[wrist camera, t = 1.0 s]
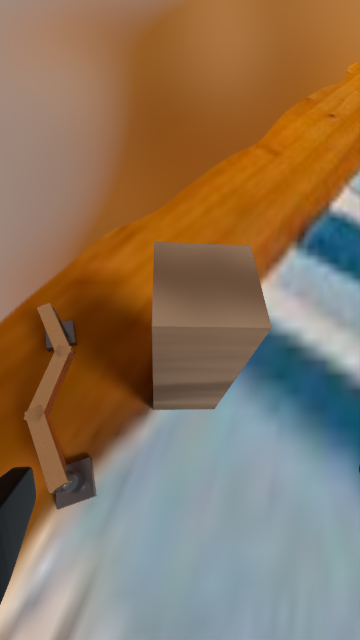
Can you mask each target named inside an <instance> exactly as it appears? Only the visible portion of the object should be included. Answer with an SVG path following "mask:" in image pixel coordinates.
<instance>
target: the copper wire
mask: <svg viewBox="0 0 360 640" xmlns="http://www.w3.org/2000/svg"><path fill="white" fill-rule="evenodd" d="M37 309H38V312H39V316H40V317H41V319H42V322H43V324H44V326H45V334H46V349H47V350H48V351H53V350H54V351H55V352H54V354H53V356H52V359H51V361H50V363H49V365H48V367H47V369H46V372H45V374H44V376H43V378H42V380H41V382H40V385H39V387H38V389H37V391H36V393H35V395H34V398H33V400H32V402H31V404H30V406H29V408H28V411H26V412H24V413H25V417H24V420H26V421H27V423H28V426H29V429H30V433H31V436H32V439H33V442H34V445H35V449H36V452H37V455H38V458H39V462H40V465H41V468H42V471H43V474H44V478H45V481H46V484H47V487H48V490H49V493H56V507H57V509H61V508H64V507H66V506H69V505H72V504H75V503H78V502H80V501H83V500H86V499H89V498H92V497H94V496H96V489H95V481H94V473H93V466H92V458H90V457H89V458H86V459H83V460H80V461H77V462H74V463H71V464H68V465H66V463H65V460H64V457H63V455H62V452H61V449H60V446H59V443H58V440H57V438H56V435H55V432H54V429H53V426H52V423H51V421H50V418H49V415H50V412H51V410H52V408H53V405H54V403H55V400H56V398H57V395H58V393H59V391H60V388H61V386H62V383H63V381H64V379H65V376H66V374H67V371H68V369H69V366H70V364H71V362H72V359H73V358H75V356H74V354H75V351H74V350H73V348H72V346H75V345H77V343H76V335H75V327H74V322H73V320H70V321H65V322H61V320H60V318H59V316H58V315H57V313H56V311H55V309H54V308H53V307H52V306H51V304H50V303H48V304H45V305H42V306H40V307H37Z"/></svg>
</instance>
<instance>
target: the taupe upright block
mask: <svg viewBox="0 0 360 640" xmlns="http://www.w3.org/2000/svg"><path fill="white" fill-rule="evenodd" d="M270 329H271V324H270V320H269V316H268V312H267V308H266V304H265V300H264V296H263V292H262V288H261V285H260V281H259V277H258V273H257V269H256V265H255V261H254V257H253V253H252V249H251V246H242V245H217V244H192V243H167V242H154V272H153V305H152V358H153V406H154V410H176V409H215V407H216V406H217V404H218V403H219V402H220V400H221V399H222V397H223V396H224V394H225V393H226V392H227V390H228V389H229V387H230V386H231V385H232V383H233V382H234V380H235V379H236V377H237V376H238V375H239V373H240V372H241V370H242V369H243V368H244V366H245V365H246V363H247V362H248V360H249V359H250V358H251V356H252V355H253V353H254V352H255V351H256V349H257V348H258V346H259V345H260V343H261V342H262V341H263V339H264V338H265V336H266V335H267V334H268V332H269V331H270Z"/></svg>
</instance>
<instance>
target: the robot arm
mask: <svg viewBox="0 0 360 640" xmlns="http://www.w3.org/2000/svg"><path fill="white" fill-rule="evenodd" d="M359 472H360V466H359ZM35 500H36V489H35V482H34V475H33V470H32V468H31V467H15V468H12V469H11V470H9V471H8V472H7V473H5V474H4V475H3V476H1V477H0V604H1V602H2V599H3V597H4V594H5V592H6V589H7V587H8V584H9V581H10V579H11V576H12V573H13V570H14V567H15V564H16V561H17V558H18V555H19V551H20V548H21V545H22V542H23V539H24V536H25V533H26V529H27V526H28V523H29V520H30V517H31V514H32V511H33V507H34V504H35Z"/></svg>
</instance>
